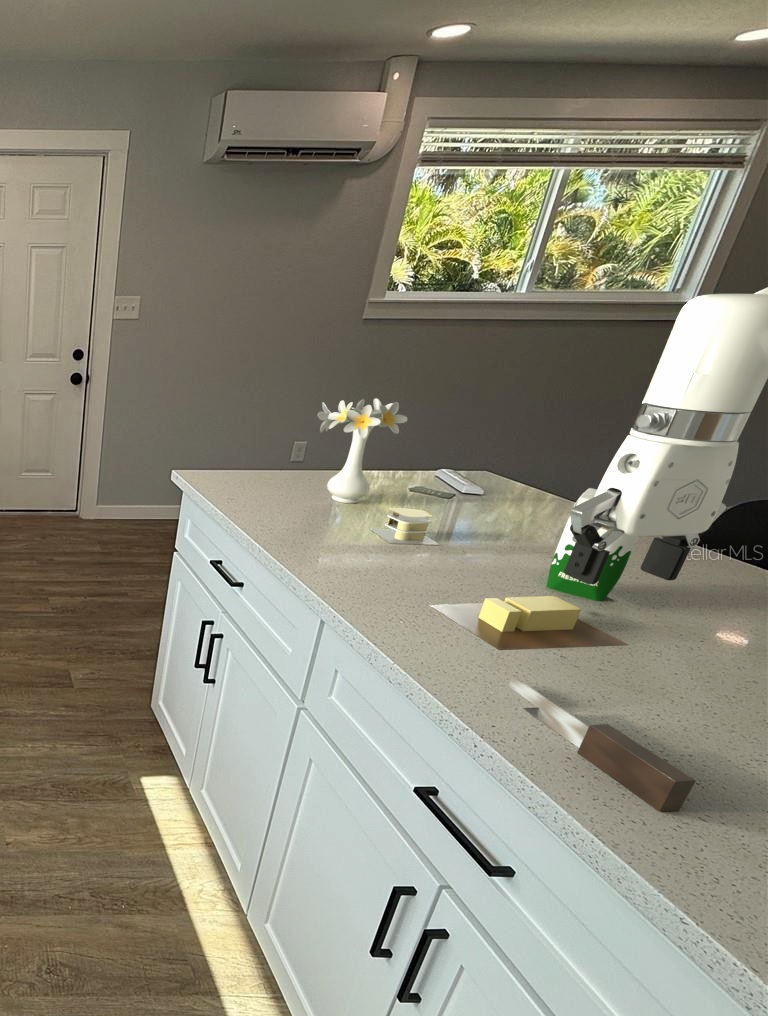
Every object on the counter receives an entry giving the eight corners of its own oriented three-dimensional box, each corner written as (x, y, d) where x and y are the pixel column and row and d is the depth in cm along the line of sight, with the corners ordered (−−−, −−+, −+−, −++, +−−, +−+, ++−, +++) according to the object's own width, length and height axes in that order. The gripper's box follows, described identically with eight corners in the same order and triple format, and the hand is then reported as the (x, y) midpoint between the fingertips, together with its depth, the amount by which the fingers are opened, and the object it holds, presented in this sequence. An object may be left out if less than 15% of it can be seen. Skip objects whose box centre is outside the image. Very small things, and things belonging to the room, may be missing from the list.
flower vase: (306, 487, 169) (326, 392, 159) (386, 499, 159) (413, 398, 149) (297, 500, 159) (317, 399, 149) (382, 513, 149) (410, 407, 139)
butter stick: (546, 615, 100) (554, 595, 99) (572, 629, 96) (581, 609, 95) (498, 617, 100) (505, 597, 99) (523, 631, 96) (531, 611, 95)
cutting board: (540, 608, 106) (543, 600, 105) (625, 653, 93) (629, 644, 92) (425, 612, 105) (428, 604, 104) (495, 658, 92) (499, 649, 91)
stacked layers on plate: (416, 529, 140) (423, 506, 137) (440, 545, 131) (447, 520, 129) (368, 528, 141) (374, 504, 138) (389, 543, 132) (396, 518, 130)
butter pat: (490, 617, 100) (497, 597, 99) (514, 631, 96) (522, 611, 94) (478, 617, 100) (484, 598, 98) (501, 632, 96) (509, 611, 94)
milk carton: (612, 597, 109) (661, 486, 102) (603, 613, 104) (655, 497, 96) (547, 580, 116) (589, 474, 108) (535, 594, 110) (578, 484, 102)
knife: (679, 810, 65) (696, 780, 64) (659, 811, 65) (675, 781, 64) (513, 695, 84) (523, 669, 82) (497, 695, 84) (507, 670, 82)
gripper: (651, 434, 60) (582, 596, 67) (808, 431, 62) (725, 588, 68) (573, 419, 67) (517, 566, 73) (716, 416, 68) (649, 560, 75)
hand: (618, 577), depth 71 cm, fingers open, 9 cm apart
